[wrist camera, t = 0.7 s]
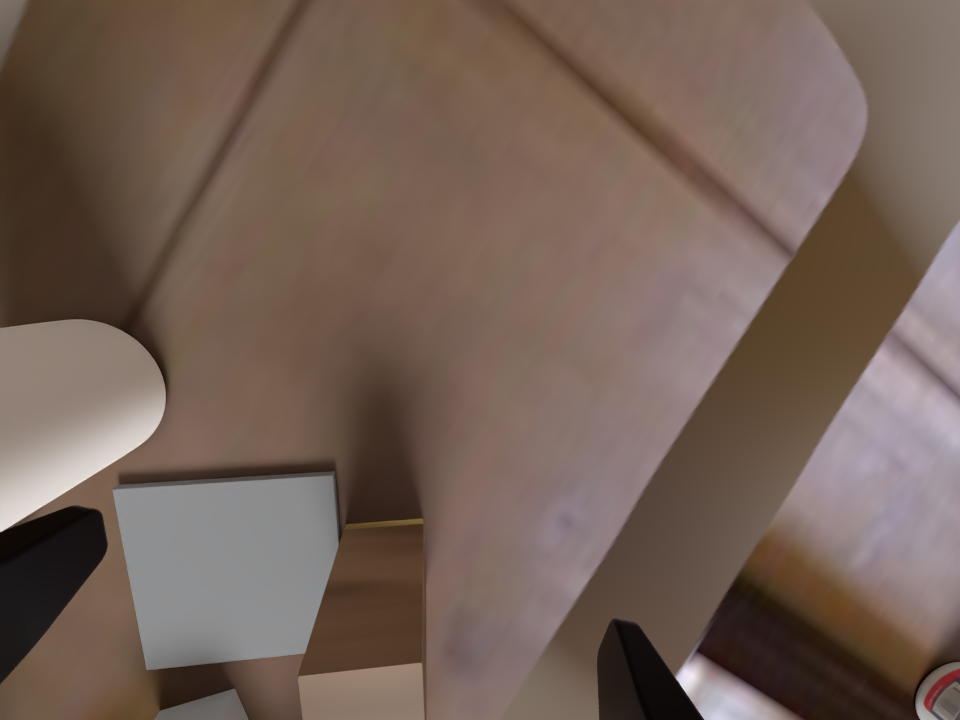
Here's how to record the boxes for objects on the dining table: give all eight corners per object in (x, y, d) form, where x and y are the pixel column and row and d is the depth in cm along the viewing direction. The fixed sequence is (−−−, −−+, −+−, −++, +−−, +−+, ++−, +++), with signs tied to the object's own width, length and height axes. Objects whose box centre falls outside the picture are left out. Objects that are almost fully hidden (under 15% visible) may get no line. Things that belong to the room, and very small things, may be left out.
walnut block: (426, 585, 25) (426, 758, 16) (350, 592, 24) (308, 774, 15) (423, 518, 24) (422, 662, 15) (345, 524, 23) (297, 676, 15)
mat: (349, 641, 25) (347, 648, 24) (152, 661, 24) (146, 670, 23) (334, 471, 23) (332, 475, 22) (119, 484, 22) (112, 489, 21)
